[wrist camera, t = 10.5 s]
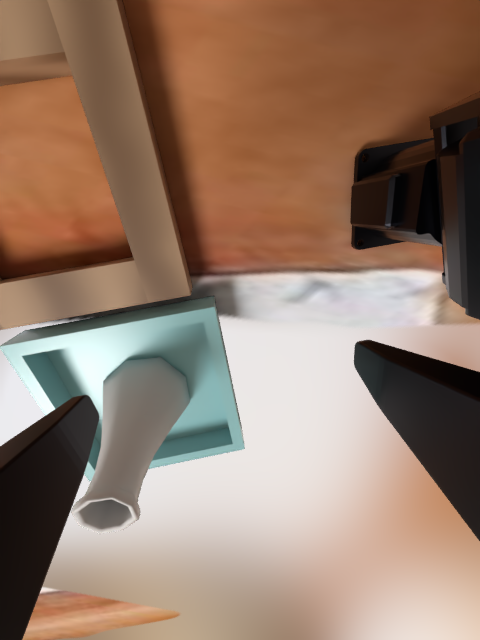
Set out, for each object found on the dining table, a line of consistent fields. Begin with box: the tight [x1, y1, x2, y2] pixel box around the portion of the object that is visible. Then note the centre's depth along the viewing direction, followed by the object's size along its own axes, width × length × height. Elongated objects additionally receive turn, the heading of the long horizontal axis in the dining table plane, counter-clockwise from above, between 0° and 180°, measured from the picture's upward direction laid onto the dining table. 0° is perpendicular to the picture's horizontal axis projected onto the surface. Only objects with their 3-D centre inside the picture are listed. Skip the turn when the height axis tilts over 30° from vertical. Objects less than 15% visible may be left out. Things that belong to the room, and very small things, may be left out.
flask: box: [71, 357, 190, 534], centre depth 17 cm, size 7×7×10 cm
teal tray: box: [0, 296, 245, 481], centre depth 21 cm, size 15×15×2 cm
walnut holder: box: [0, 0, 193, 330], centre depth 14 cm, size 16×16×2 cm
